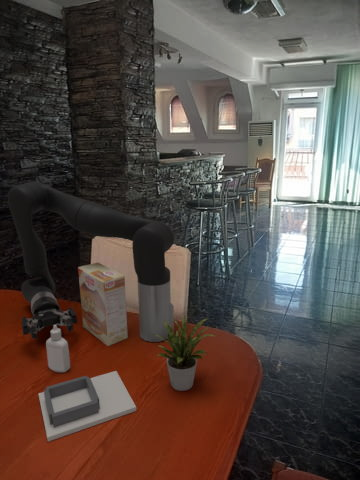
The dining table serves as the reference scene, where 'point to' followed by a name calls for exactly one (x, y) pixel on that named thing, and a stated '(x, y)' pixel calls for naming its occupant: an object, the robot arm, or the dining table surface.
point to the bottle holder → (83, 403)
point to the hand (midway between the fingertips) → (53, 332)
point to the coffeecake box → (103, 302)
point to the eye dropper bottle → (57, 351)
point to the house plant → (182, 355)
